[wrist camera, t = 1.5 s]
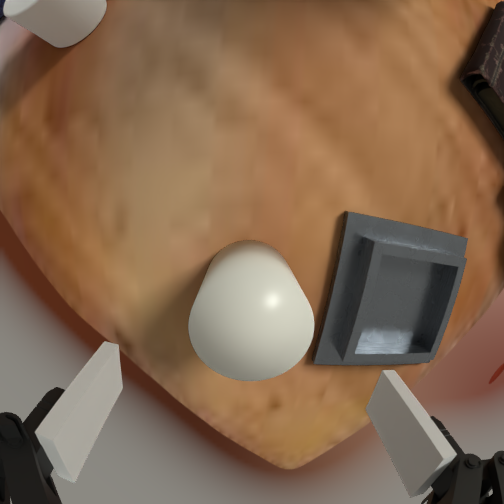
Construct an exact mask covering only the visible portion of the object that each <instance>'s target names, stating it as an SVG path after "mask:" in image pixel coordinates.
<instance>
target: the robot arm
mask: <svg viewBox="0 0 504 504" xmlns="http://www.w3.org/2000/svg"><path fill="white" fill-rule="evenodd" d="M122 389H123V386H122V377H121V368H120V357H119V345H118V344H113V343H109V342H104V343H103V344H102V345H101V346H100V348H99V349H98V350H97V351H96V353H95V354H94V355H93V356H92V357H91V359H90V360H89V361H88V362H87V364H86V365H85V366H84V367H83V369H82V370H81V371H80V372H79V374H78V375H77V376H76V377H75V379H74V380H73V382H72V383H71V384H70V385H69V387H68V388H67V389H66V390H64V389H61V388H58V387H56V388H54V389H52V390H50V391H49V392H47V393H46V395H45V396H44V397H43V398H42V401H40V402H39V403H38V404H37V407H35V408H34V409H33V411H32V412H31V413H30V414H29V416H28V417H27V418H26V420H25V421H24V422H23V423H22V421H21V419H20V418H19V417H18V416H17V415H16V414H13V413H9V412H4V413H0V504H10V497H11V501H12V504H62V503H61V500H60V498H59V495H58V493H57V490H56V487H55V485H54V482H53V479H52V477H51V475H50V474H51V472H52V470H53V468H54V470H55V472H56V473H57V475H58V476H59V477H62V478H64V479H66V480H68V481H71V482H73V483H75V482H76V480H77V478H78V475H79V473H80V471H81V469H82V467H83V465H84V463H85V461H86V459H87V457H88V455H89V453H90V451H91V449H92V447H93V445H94V442H95V441H96V438H97V437H98V435H99V433H100V431H101V429H102V427H103V425H104V423H105V421H106V419H107V417H108V415H109V413H110V411H111V410H112V408H113V406H114V404H115V402H116V400H117V398H118V396H119V394H120V393H121V391H122ZM366 411H367V413H368V415H369V417H370V419H371V421H372V423H373V425H374V427H375V429H376V431H377V433H378V434H379V436H380V438H381V440H382V442H383V444H384V446H385V448H386V450H387V452H388V454H389V456H390V458H391V460H392V462H393V464H394V466H395V468H396V470H397V472H398V474H399V476H400V478H401V480H402V482H403V484H404V486H405V488H406V490H407V492H408V494H409V496H410V498H411V497H414V496H417V495H420V494H423V493H424V492H425V491H426V490H427V489H428V488H429V487H430V486H431V487H432V488H433V491H432V492H431V493H430V494H429V495H428V496H427V497H426V498H425V499H424V500H423V501H422V503H421V504H424V503H425V502H426V501H427V500H428V502H427V504H504V451H498V452H497V453H495V455H494V456H493V457H492V458H491V459H488V460H481V459H480V458H479V457H478V456H476V455H474V454H464V452H463V451H462V449H461V448H460V447H459V446H458V444H457V443H456V441H455V440H454V439H453V437H452V436H451V435H450V433H449V432H448V431H447V430H446V428H445V427H444V425H443V424H442V423H441V422H440V421H439V420H438V419H436V418H435V417H434V416H431V417H430V416H429V415H428V414H427V412H426V411H425V410H424V408H423V407H422V406H421V404H420V403H419V402H418V400H417V399H416V398H415V396H414V395H413V394H412V392H411V391H410V390H409V388H408V387H407V386H406V385H405V383H404V382H403V381H402V379H401V378H400V377H399V376H398V374H397V373H396V372H395V370H382V372H381V375H380V377H379V380H378V382H377V385H376V387H375V389H374V392H373V394H372V396H371V398H370V401H369V403H368V405H367V407H366ZM491 489H492V490H493V494H492V495H491V496H489V493H488V492H489V491H490V490H491Z"/></svg>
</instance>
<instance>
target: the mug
mask: <svg viewBox="0 0 504 504" xmlns="http://www.w3.org/2000/svg"><path fill="white" fill-rule="evenodd" d="M106 7H107V3H106V0H6V1H5V3H4V7H3V13H4V15H5V16H6V17H7V18H9V19H11V20H12V21H14V22H16V23H18V24H19V25H21V26H23V27H24V28H26V29H27V30H29V31H31V32H32V33H34V34H36V35H37V36H39V37H40V38H42V39H44V40H45V41H47V42H48V43H50V44H51V45H53V46H55V47H58V48H64V47H68V46H71V45H73V44H76V43H77V42H79V41H81V40H82V39H84V38H85V37H86V36H88V35H89V34H90V33H91V32H92V31H93V30H94V29H95V28H96V27H97V25H98V24H99V23H100V21H101V20H102V18H103V16H104V14H105V12H106Z"/></svg>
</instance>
